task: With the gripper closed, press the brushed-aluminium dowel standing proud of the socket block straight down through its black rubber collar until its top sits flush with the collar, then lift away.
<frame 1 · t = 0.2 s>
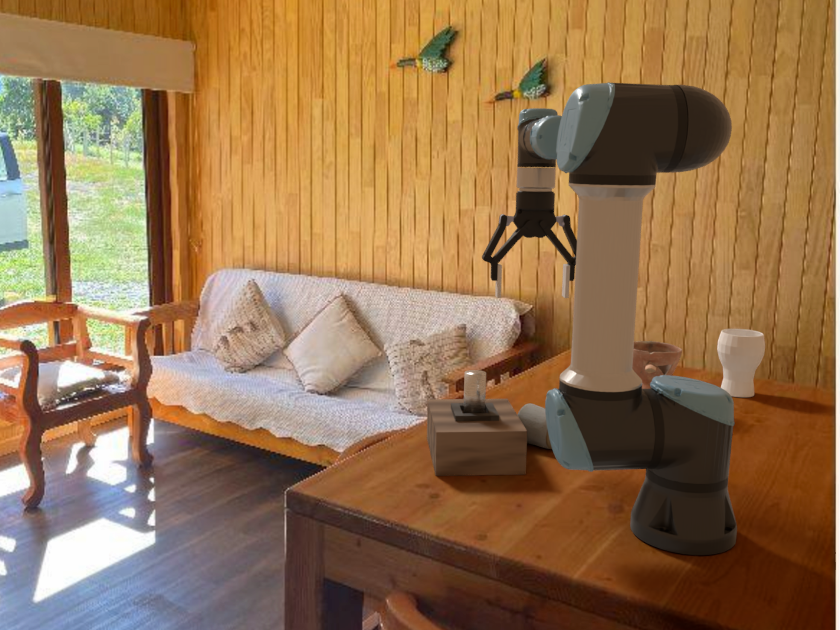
hand: (531, 297, 164), 28 cm above the table, fingers open, 13 cm apart
peg: (474, 394, 152), point 12 cm above the table, slide at 0.0 cm
ceramic jug: (649, 406, 187), on the table
socket block: (473, 455, 154), on the table
ceramic mug: (543, 444, 161), on the table
cup: (736, 394, 198), on the table
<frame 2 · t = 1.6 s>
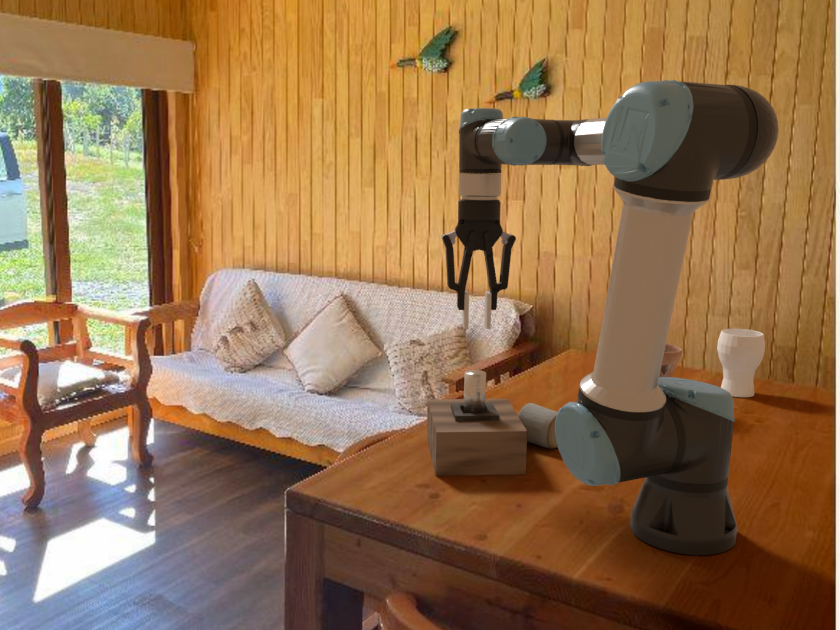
hand: (476, 327, 150), 25 cm above the table, fingers open, 3 cm apart
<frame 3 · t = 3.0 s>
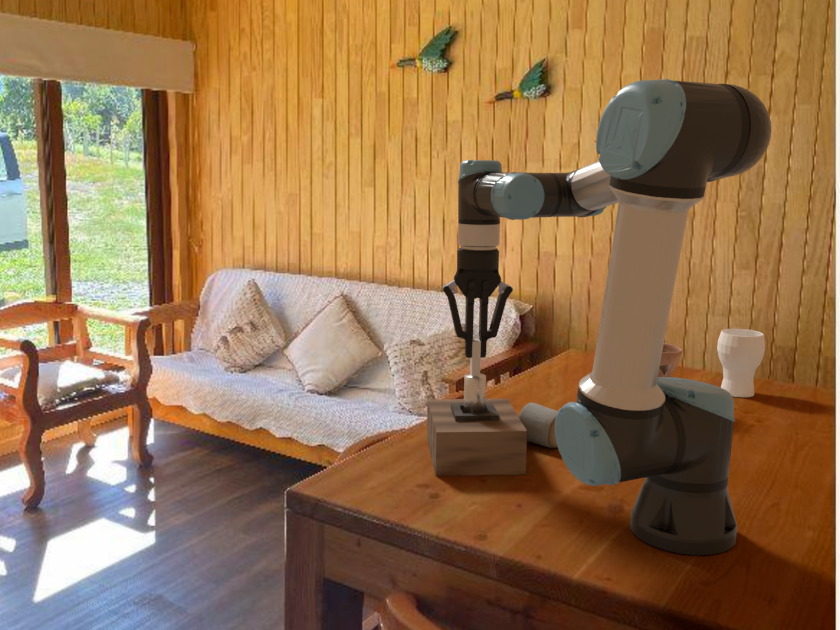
hand: (474, 374, 151), 16 cm above the table, fingers closed
peg: (474, 398, 152), point 11 cm above the table, slide at 0.6 cm, touching gripper
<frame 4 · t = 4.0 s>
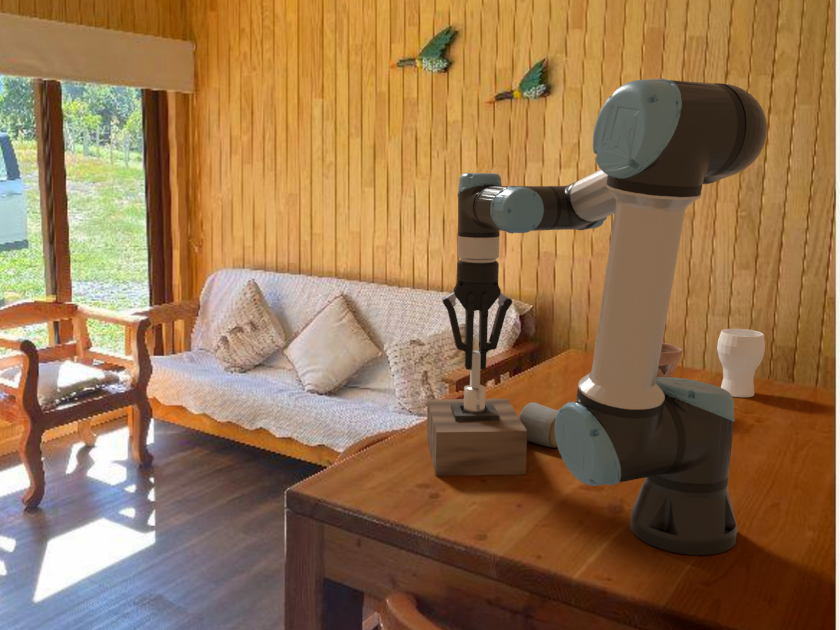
hand: (474, 386, 152), 13 cm above the table, fingers closed
peg: (474, 409, 152), point 9 cm above the table, slide at 2.8 cm, touching gripper
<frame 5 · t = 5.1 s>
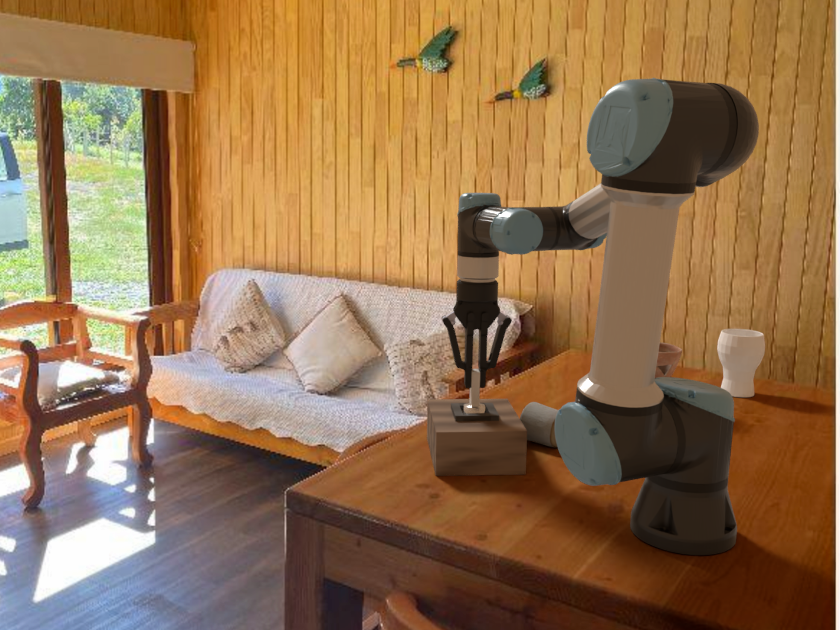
hand: (474, 404, 152), 10 cm above the table, fingers closed
peg: (473, 427, 153), point 5 cm above the table, slide at 6.3 cm, touching gripper
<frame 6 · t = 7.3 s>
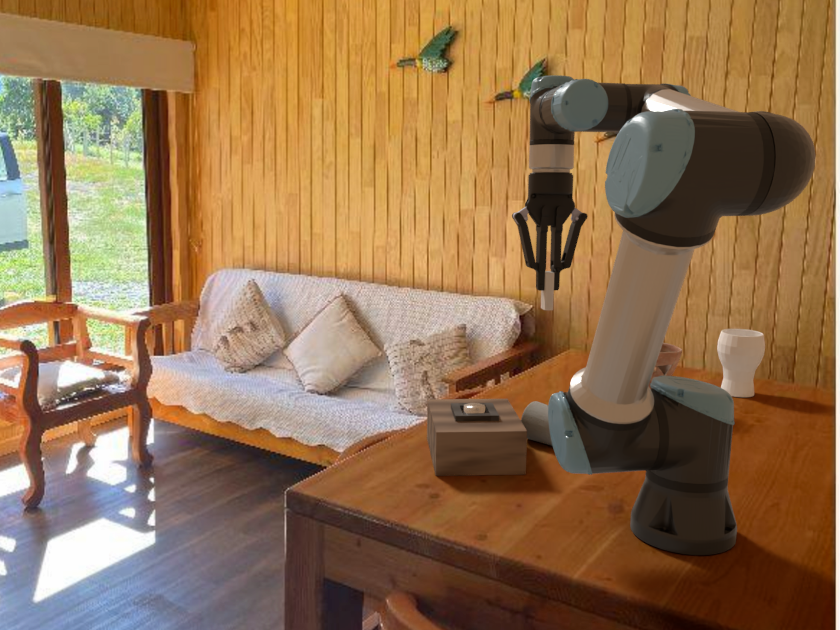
hand: (546, 309, 142), 29 cm above the table, fingers closed
peg: (473, 427, 153), point 5 cm above the table, slide at 6.4 cm
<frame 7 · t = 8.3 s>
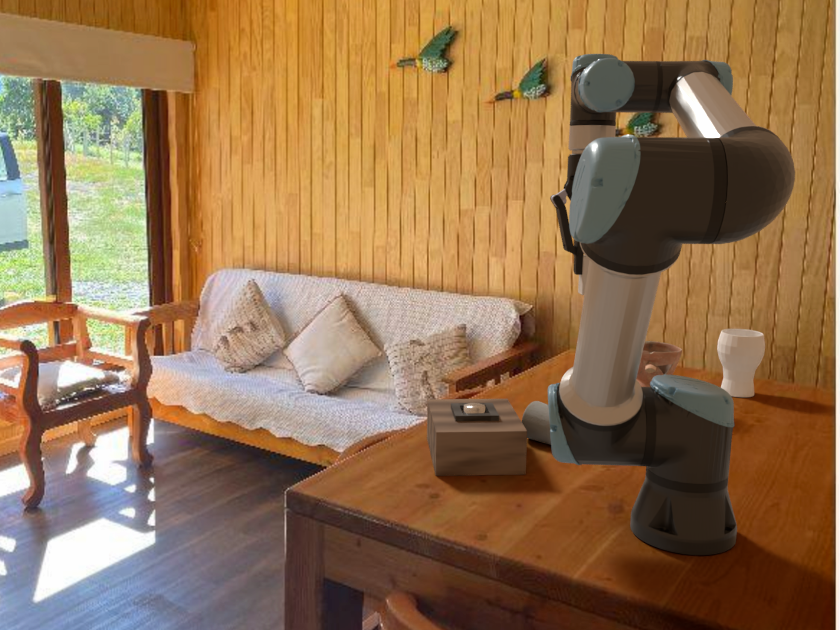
hand: (584, 293, 140), 32 cm above the table, fingers closed
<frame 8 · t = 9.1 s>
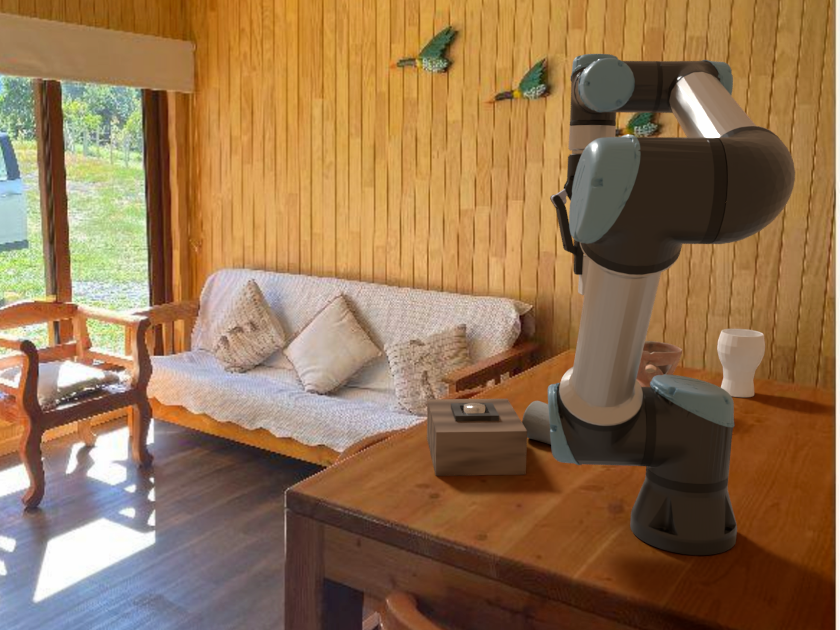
hand: (584, 293, 140), 32 cm above the table, fingers closed
at the end: peg slide at 6.4 cm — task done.
